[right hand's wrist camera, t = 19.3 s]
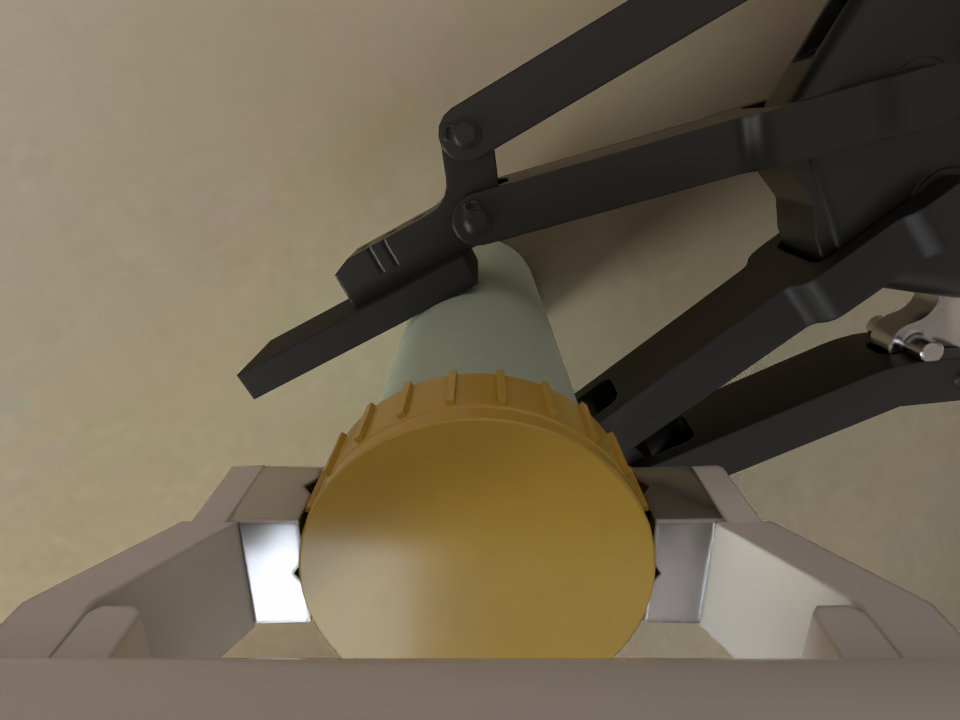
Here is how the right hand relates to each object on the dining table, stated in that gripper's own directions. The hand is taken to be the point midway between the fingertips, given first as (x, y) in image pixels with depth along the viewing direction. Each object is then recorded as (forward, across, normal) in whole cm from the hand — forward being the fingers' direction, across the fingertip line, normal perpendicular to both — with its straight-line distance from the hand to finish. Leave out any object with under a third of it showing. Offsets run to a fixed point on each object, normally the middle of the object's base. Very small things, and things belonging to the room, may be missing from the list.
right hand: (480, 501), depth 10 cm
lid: (-2, 0, 0) cm, 2 cm away
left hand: (+7, -5, -2) cm, 9 cm away
